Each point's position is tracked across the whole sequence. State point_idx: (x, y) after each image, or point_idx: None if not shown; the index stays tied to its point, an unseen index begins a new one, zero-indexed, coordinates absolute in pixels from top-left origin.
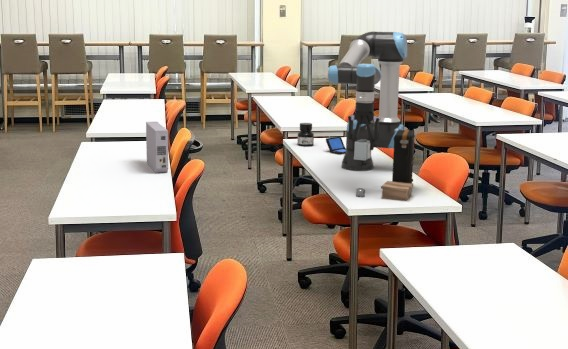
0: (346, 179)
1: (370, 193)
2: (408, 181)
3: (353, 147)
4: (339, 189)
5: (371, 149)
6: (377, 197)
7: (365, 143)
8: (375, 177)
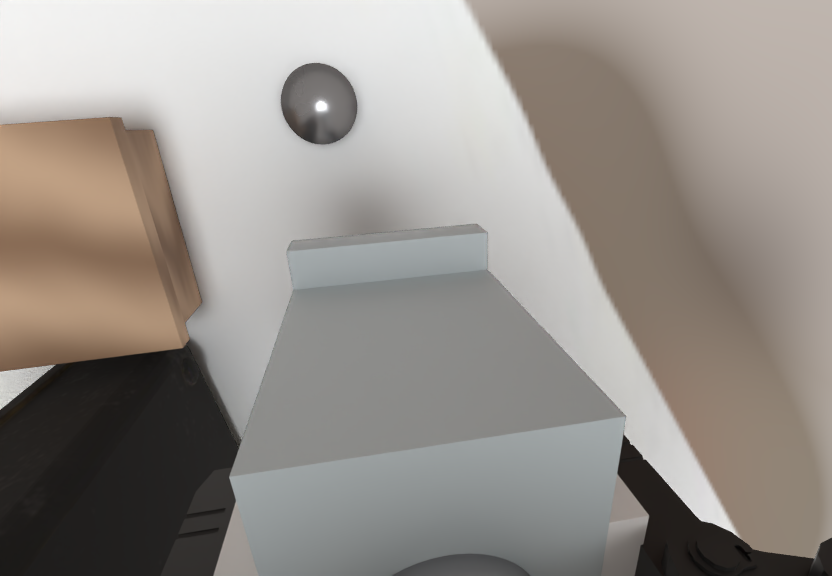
0: None
1: (297, 229)
2: (10, 402)
3: None
4: (520, 228)
5: (227, 481)
6: (195, 137)
7: (273, 462)
8: None
